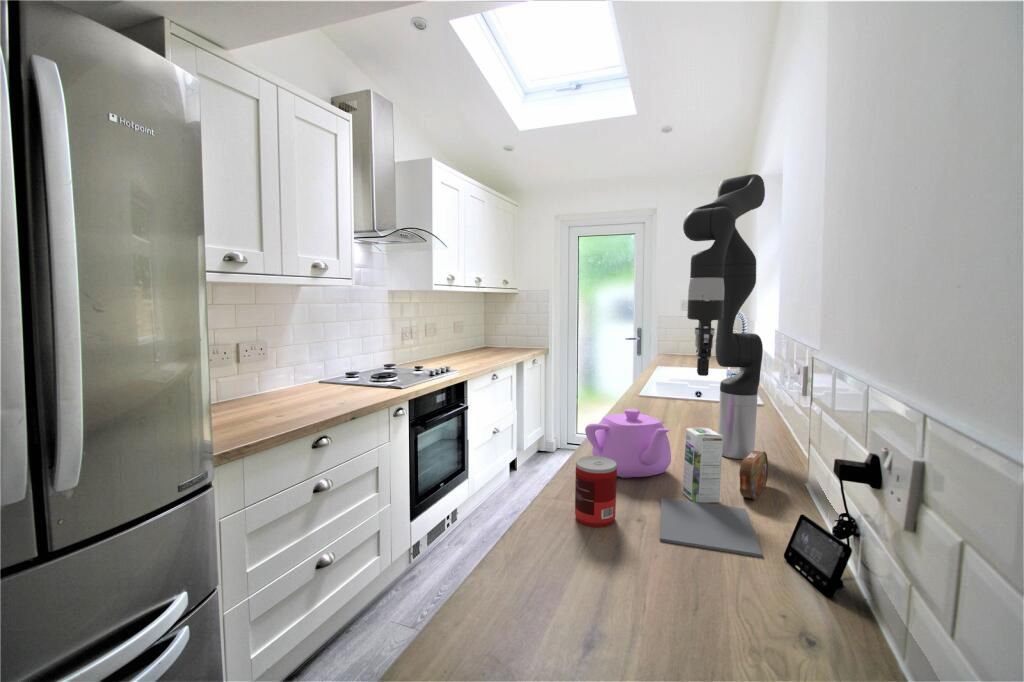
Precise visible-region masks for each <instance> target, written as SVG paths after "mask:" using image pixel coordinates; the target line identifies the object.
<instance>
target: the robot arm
mask: <svg viewBox="0 0 1024 682" xmlns="http://www.w3.org/2000/svg"><path fill="white" fill-rule="evenodd" d="M765 196H766V187H765V182H764V179H763V178H762V177H761V175H759V174H757V173H756V174H755V173H754V174H753V173H752V174H746V175H741V176H735V177H732V178H731V177H730V178H726V179H723V180H721V181H720V183H719V185H718V189H717V198H715V199H714V200H713V201H711V202H710V203H708V204H704V205H701V206H698V207H696V208H693V209H692V210H690V211H689V212H687V214H686V216H685V218H684V221H683V227H682V229H683V233H684V236H685V237H686V238H687V239H688V240H690V241H693V242H706V241H707V242H708V241H714V242H713V244H712V245H711V246H710V247H708V249H705V250H702V251H697V252H695V253H693V254H692V255H691V258H690V270H689V271H690V273H689V274H690V276H689V277H690V278H689V284H688V289H687V290H688V294H687V295H688V296H687V316H686V317H687V319H688V320H692V321H693V320H696V321H697V320H698V326H697V327H694V336H695V343H694V344H695V348H696V350H695V353H696V357H697V359H696V360H697V362H696V363H697V364H696V373H697V375H698V376H699V377H700V376H703V377H708V375H709V369H710V368H709V365H710V364H709V363H710V360H711V359H710V358H712V357H711V356H712V349H713V346H714V336H716V338H715V359H716V363H717V364H718V365H719V366H720V367H723V368H741V369H740V371H739V372H738V373H737V374H735V375H733V376H731V377H727V378H724V379H722V380H721V381H720V383H719V384H720V385H719V405H718V406H719V407H718V423H717V424H718V429H717V433H718V434H720V435H723V446H722V457H726V458H729V459H737V460H743V459H744V458H745V457H746V456H747V455H748V454H749V453H750V452H752V451H756V450H755V449H756V448H755V447H756V445H755V444H756V433H757V432H756V430H757V429H756V428H757V413H758V412H757V411H758V394H759V393H758V392H759V386H760V383H761V382H760V381H761V371H762V362H763V354H764V353H763V351H764V349H763V341H762V339H761V337H760V336H759V334H757V333H749V332H748V333H747V332H745V333H744V332H737V333H736V332H734V326H735V321H736V318H737V315H738V313H739V312H740V310H741V309H742V307H743V305H744V304H745V302H746V301H747V299H748V298H749V296H750V295H751V293H752V292H753V291H754V289H755V286H756V283H757V258H756V255H755V254H754V252H753V250H752V249H751V248H750V246H749V245H748V244H747V242H746V241H745V240H744V239H743V236H741V234H740V233H739V230H738V229H737V227H736V222H737V221H736V220H737V219H738V218H740V217H741V216H743V215H745V214H747V213H749V212H750V211H752V210H755V209H758V208H760V207H761V206H763V203H764V201H765ZM713 321H717V323H716V324H717V327H716V335H715V328H714V327H712V322H713Z"/></svg>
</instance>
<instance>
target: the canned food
mask: <svg viewBox="0 0 1024 682" xmlns="http://www.w3.org/2000/svg"><path fill="white" fill-rule="evenodd" d="M617 477H618V476H617V464H616V462H615V461H614V460H612V459H609V458H606V457H600V456H593V455H589V456H583V457H580V458H578V459H576V462H575V485H574V487H575V488H574V489H575V491H574V492H575V493H574V494H575V495H574V516H575V519H576V520H577V521H578V522H579V523H581V524H582V525H585V526H587V527H591V528H592V527H593V528H602V527H604V528H605V527H608V526H610V525H611V524H613V522H614V521H615V518H616V509H617V508H616V507H617V505H616V504H617V503H616V502H617V481H618V479H617Z"/></svg>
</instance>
